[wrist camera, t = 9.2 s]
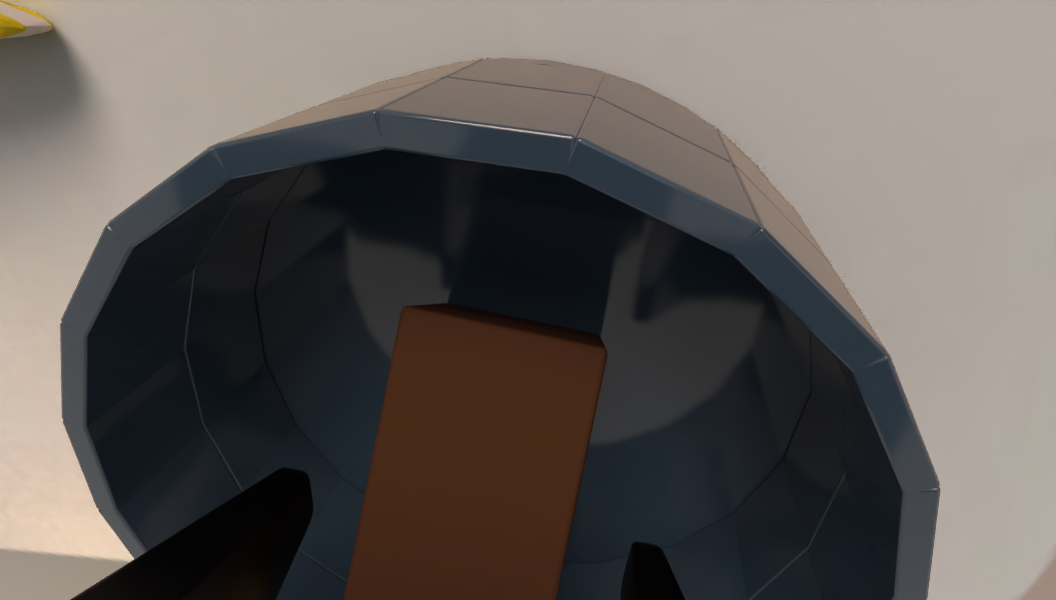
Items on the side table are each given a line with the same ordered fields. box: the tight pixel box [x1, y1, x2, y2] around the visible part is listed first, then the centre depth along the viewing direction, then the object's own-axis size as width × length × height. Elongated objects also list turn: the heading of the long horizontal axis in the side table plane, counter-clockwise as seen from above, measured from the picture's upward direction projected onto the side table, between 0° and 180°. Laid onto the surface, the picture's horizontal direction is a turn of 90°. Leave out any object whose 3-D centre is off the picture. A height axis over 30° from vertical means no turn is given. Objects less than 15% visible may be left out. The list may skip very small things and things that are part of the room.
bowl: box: [60, 58, 940, 600], centre depth 11 cm, size 12×12×5 cm
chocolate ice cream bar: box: [344, 303, 608, 600], centre depth 10 cm, size 3×9×3 cm, turn 172°
